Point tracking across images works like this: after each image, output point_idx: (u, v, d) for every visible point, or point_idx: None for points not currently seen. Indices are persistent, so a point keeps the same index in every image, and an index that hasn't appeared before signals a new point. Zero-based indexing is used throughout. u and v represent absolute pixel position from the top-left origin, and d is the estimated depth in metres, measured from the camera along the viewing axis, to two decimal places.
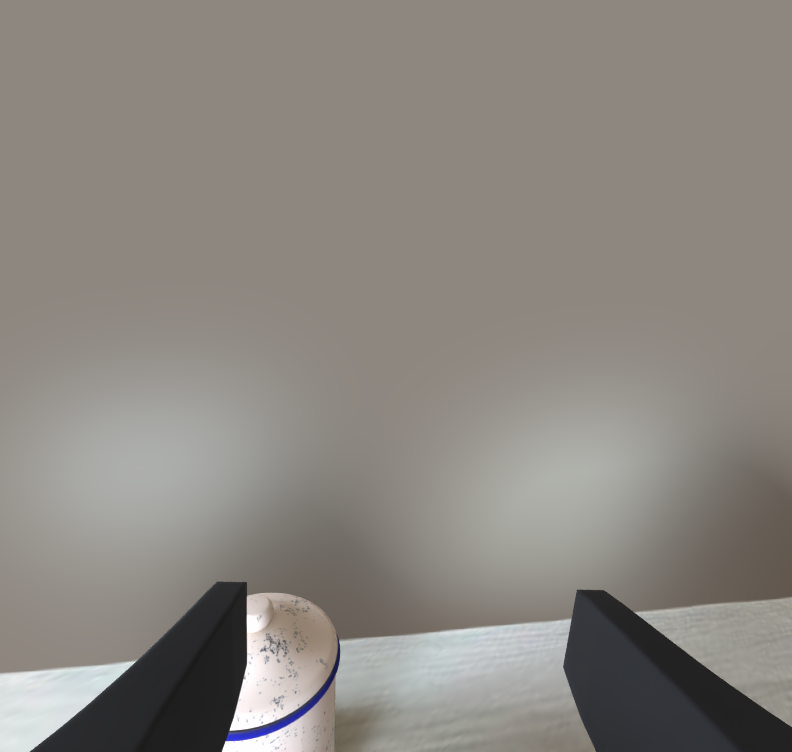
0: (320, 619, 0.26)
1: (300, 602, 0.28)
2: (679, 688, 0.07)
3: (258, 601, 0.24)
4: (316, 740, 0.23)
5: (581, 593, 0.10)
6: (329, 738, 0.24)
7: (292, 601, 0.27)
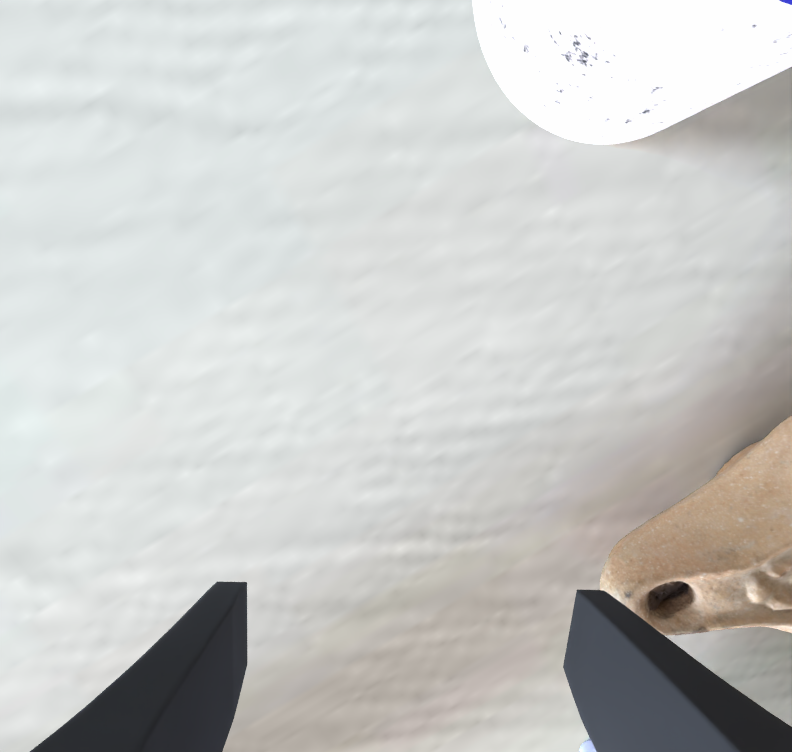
0: None
1: None
2: (679, 688, 0.07)
3: None
4: None
5: (581, 593, 0.10)
6: None
7: None
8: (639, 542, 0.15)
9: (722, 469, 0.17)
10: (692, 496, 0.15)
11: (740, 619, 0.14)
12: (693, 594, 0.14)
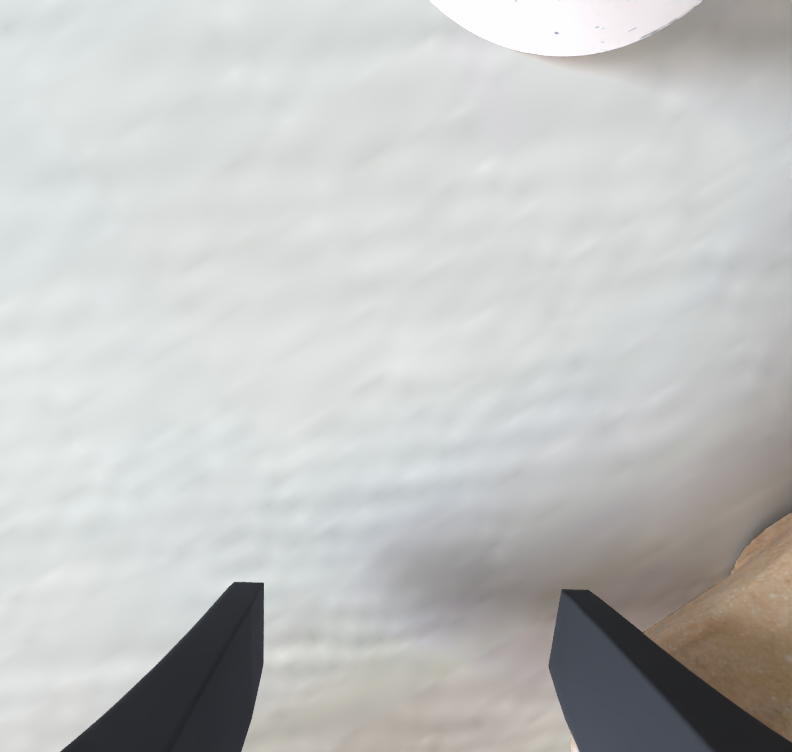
0: None
1: None
2: (658, 688, 0.07)
3: None
4: None
5: (566, 592, 0.10)
6: None
7: None
8: None
9: (749, 547, 0.12)
10: (710, 608, 0.10)
11: None
12: None
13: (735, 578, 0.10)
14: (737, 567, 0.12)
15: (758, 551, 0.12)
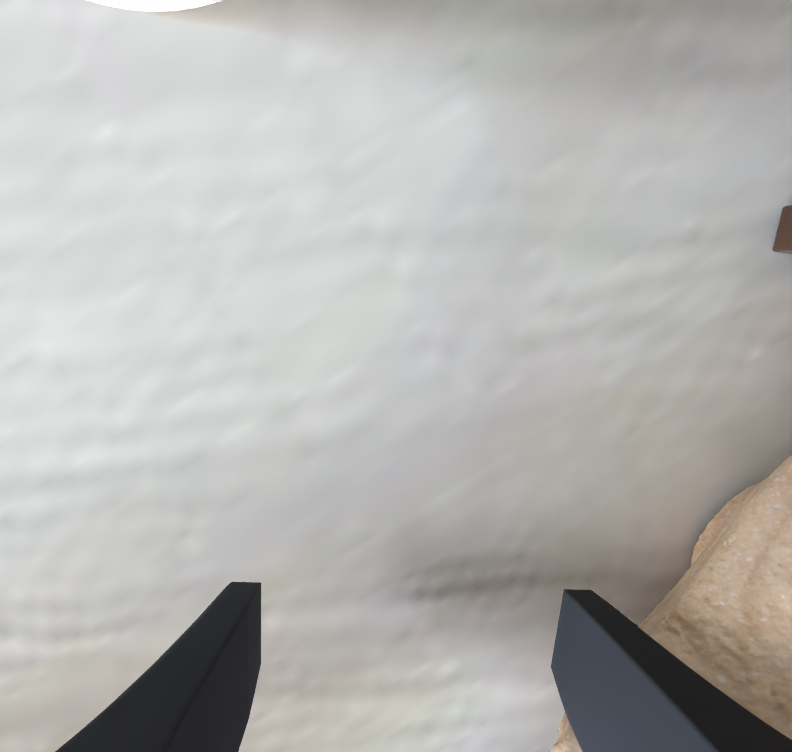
0: None
1: None
2: (661, 688, 0.07)
3: None
4: None
5: (568, 592, 0.10)
6: None
7: None
8: None
9: (698, 544, 0.12)
10: None
11: None
12: None
13: (672, 594, 0.10)
14: (692, 566, 0.12)
15: (704, 549, 0.12)
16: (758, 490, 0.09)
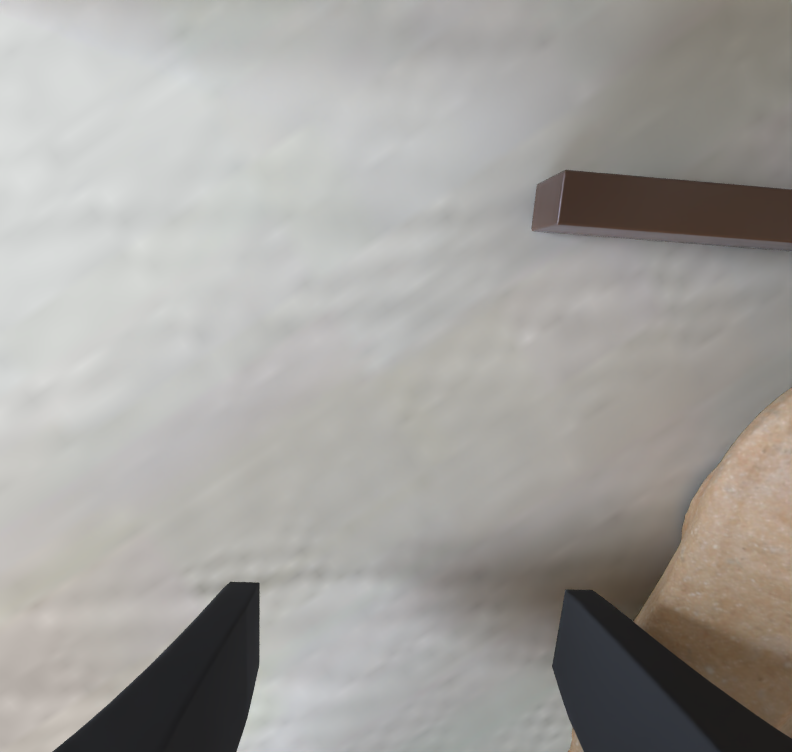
0: None
1: None
2: (663, 688, 0.07)
3: None
4: None
5: (570, 593, 0.10)
6: None
7: None
8: None
9: (685, 525, 0.12)
10: None
11: None
12: None
13: (658, 585, 0.10)
14: None
15: None
16: (714, 475, 0.09)
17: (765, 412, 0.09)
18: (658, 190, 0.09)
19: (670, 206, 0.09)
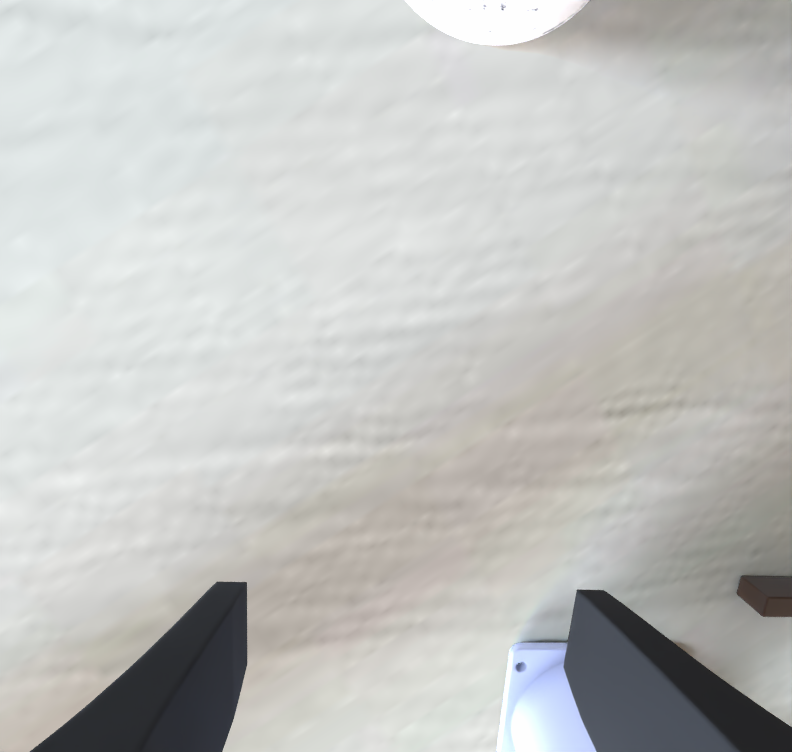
0: None
1: None
2: (679, 688, 0.07)
3: None
4: None
5: (581, 593, 0.10)
6: None
7: None
8: None
9: None
10: None
11: None
12: None
13: None
14: None
15: None
16: None
17: None
18: None
19: None
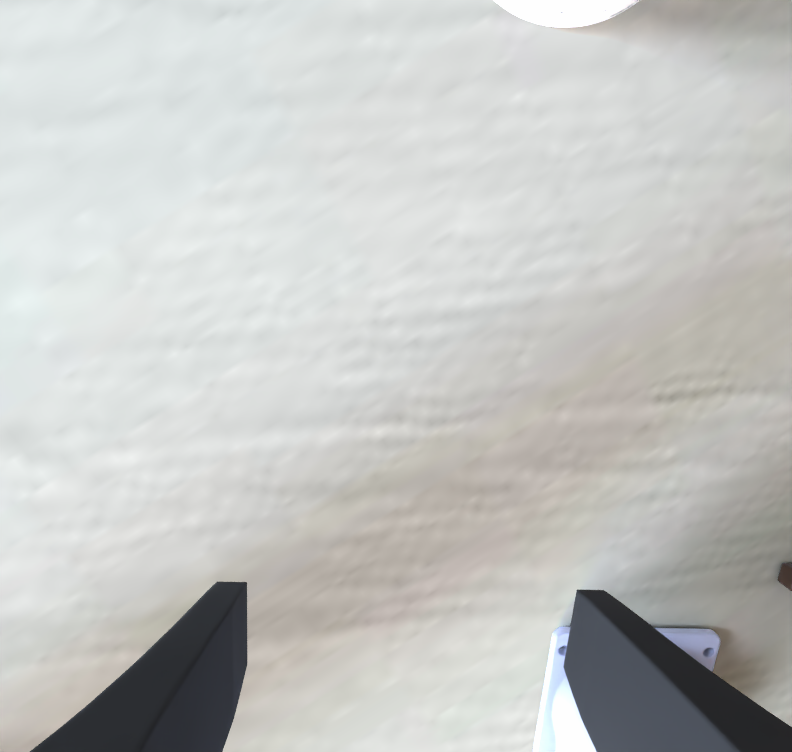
0: None
1: None
2: (679, 688, 0.07)
3: None
4: None
5: (581, 593, 0.10)
6: None
7: None
8: None
9: None
10: None
11: None
12: None
13: None
14: None
15: None
16: None
17: None
18: None
19: None
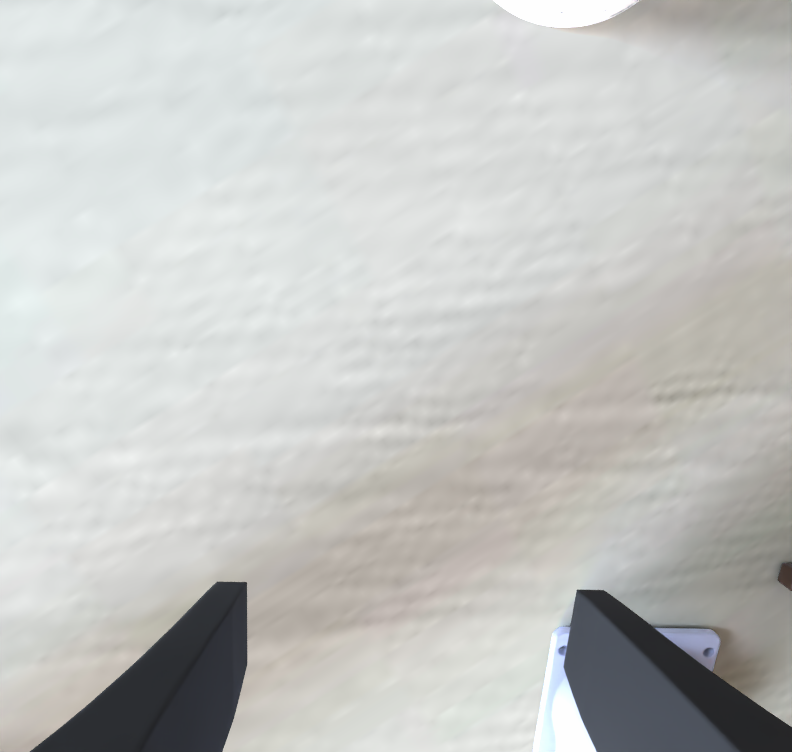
0: None
1: None
2: (679, 688, 0.07)
3: None
4: None
5: (581, 593, 0.10)
6: None
7: None
8: None
9: None
10: None
11: None
12: None
13: None
14: None
15: None
16: None
17: None
18: None
19: None
